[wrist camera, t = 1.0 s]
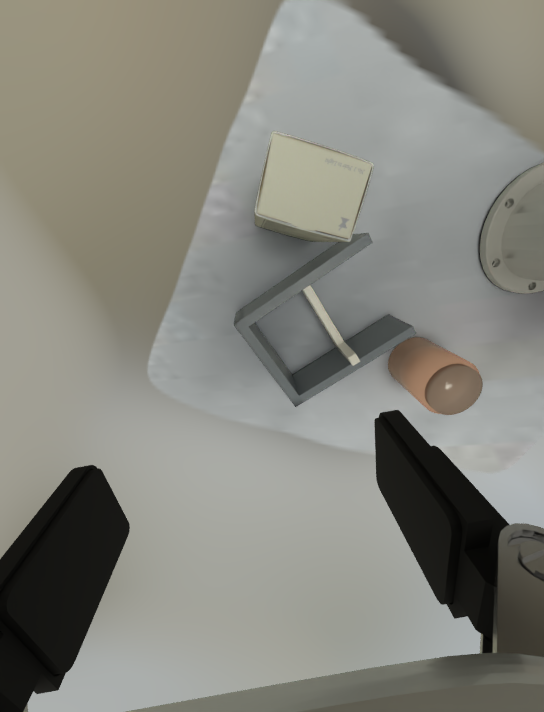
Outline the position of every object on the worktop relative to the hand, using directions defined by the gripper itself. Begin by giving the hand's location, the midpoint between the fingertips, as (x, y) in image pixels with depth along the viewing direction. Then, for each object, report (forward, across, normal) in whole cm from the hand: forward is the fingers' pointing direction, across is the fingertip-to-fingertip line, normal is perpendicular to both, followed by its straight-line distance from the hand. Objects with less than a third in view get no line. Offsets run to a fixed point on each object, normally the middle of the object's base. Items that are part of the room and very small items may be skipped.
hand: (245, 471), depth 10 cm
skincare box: (+23, -6, -9) cm, 25 cm away
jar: (+23, -18, +9) cm, 31 cm away
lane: (+23, -7, +2) cm, 24 cm away
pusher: (+23, -7, +2) cm, 24 cm away
